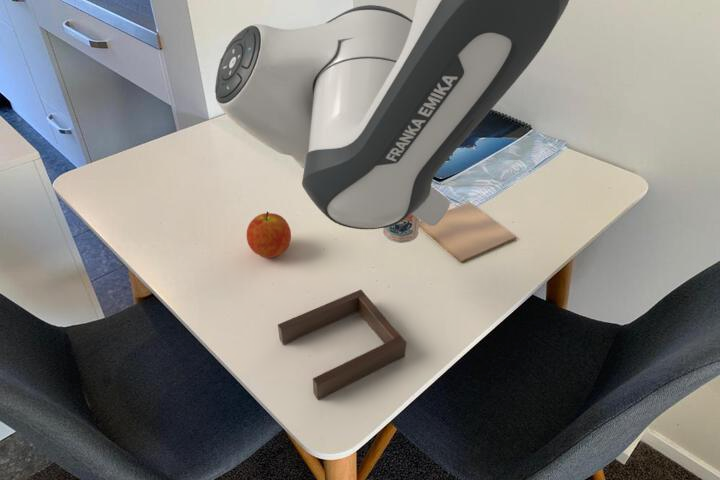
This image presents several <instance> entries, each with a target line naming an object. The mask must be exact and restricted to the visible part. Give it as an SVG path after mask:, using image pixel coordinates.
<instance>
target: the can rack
mask: <svg viewBox="0 0 720 480" xmlns="http://www.w3.org/2000/svg"><path fill="white" fill-rule="evenodd" d="M357 313H358V314H359V315H360V316H361V317H362V319H364V322H366V324H368V326H369V327H370V328H371V330H373V332H374V333H375V334H376V336H377V337H378V338H379V339H380V340H381V342H382V343H383V344H381V345H379V346H376V347H374V348H372V349H371V350H369V351H366V352H365V353H362V354H360V355H358V356H355V357H354V358H352V359H350V360H348V361H346V362H344V363H342V364H340V365H338V366H336V367H333V368H331V369H330V370H328V371H325V372H323V373H321V374H319V375H317V376H315V377H313V378H312V387H313V388H312V389H313V395H314V396H315V398H316V400H317V401H319V400H321V399H324V398H326V397H328V396H329V395H331V394H333V393H336V392H337V391H339V390H341V389H343V388H345V387H347V386H349V385H351V384H353V383H355V382H357V381H358V380H361V379H362V378H365V377H367V376H369V375H371V374H374V373H375V372H377V371H378V370H381V369H383V368H385V367H387V366H389V365H390V364H393V363H395V362H397V361H398V360H400V359H402V358H405V357H406V349H407V340H405V338H404V337H403V336H402V335H401V333H400V332H399V331H398V330H397V329H396V328H395V326H393V324H392V323H391V322H390V321H389V320H388V319H387V317H386V316H385V315H384V314H383V312H381V310H380V309H379V308H378V307H377V306H376V305H375V303H374V302H373V301H372V300H371V299H370V298H369V297H368V296H367V294H366V293H365V292H364V291H363V290H362V289H358V290H356V291H354V292H351V293H349V294H346V295H344V296H342V297H339V298H337V299H335V300H333V301H330V302H328V303H326V304H323V305H321V306H318V307H316V308H314V309H311V310H309V311H306V312H304V313H301V314H298V315H297V316H295V317H292V318H290V319H288V320H285V321H283V322H280V323H278V324H277V331H278V338H279V341H280V343H281V344H282V346H284V345H287V344H288V343H291V342H293V341H296V340H298V339H300V338H302V337H305V336H307V335H309V334H312V333H313V332H316V331H318V330H320V329H323V328H325V327H327V326H330V325H331V324H333V323H336V322H338V321H341V320H343V319H345V318H347V317H349V316H352V315H355V314H357Z"/></svg>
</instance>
